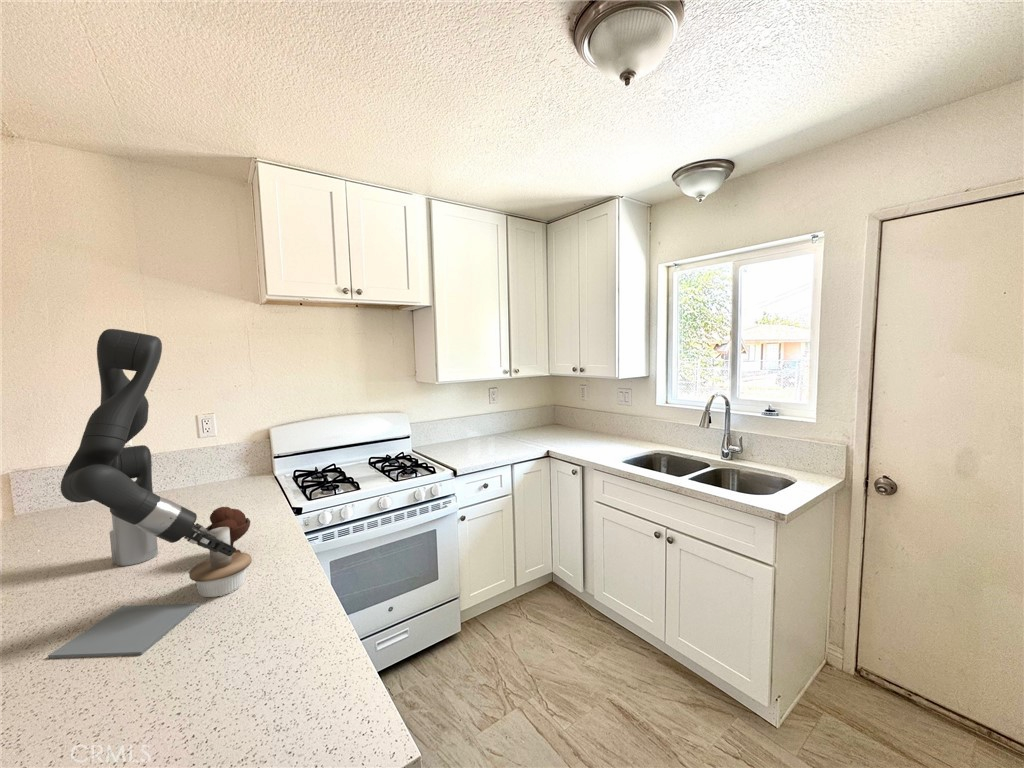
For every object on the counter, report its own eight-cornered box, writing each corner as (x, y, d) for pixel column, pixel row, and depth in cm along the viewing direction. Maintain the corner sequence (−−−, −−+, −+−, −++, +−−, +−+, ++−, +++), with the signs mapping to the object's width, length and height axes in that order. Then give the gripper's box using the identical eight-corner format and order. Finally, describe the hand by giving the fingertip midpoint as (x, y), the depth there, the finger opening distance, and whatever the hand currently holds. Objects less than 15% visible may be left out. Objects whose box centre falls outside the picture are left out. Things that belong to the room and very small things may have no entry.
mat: (48, 658, 82) (48, 655, 82) (122, 608, 98) (122, 605, 98) (141, 654, 82) (141, 651, 82) (200, 605, 98) (199, 603, 98)
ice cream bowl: (230, 566, 117) (227, 514, 115) (198, 563, 119) (194, 512, 118) (260, 548, 127) (257, 501, 126) (230, 546, 129) (226, 499, 128)
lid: (175, 582, 99) (172, 542, 98) (213, 556, 112) (210, 520, 111) (230, 580, 99) (228, 541, 99) (262, 554, 112) (259, 519, 111)
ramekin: (240, 571, 114) (239, 553, 113) (255, 585, 106) (254, 566, 106) (189, 590, 105) (188, 570, 105) (202, 606, 98) (200, 585, 97)
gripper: (187, 511, 94) (251, 543, 104) (171, 498, 103) (230, 529, 113) (159, 542, 90) (228, 572, 101) (145, 526, 99) (209, 555, 109)
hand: (229, 549), depth 107 cm, fingers closed on lid, 4 cm apart
